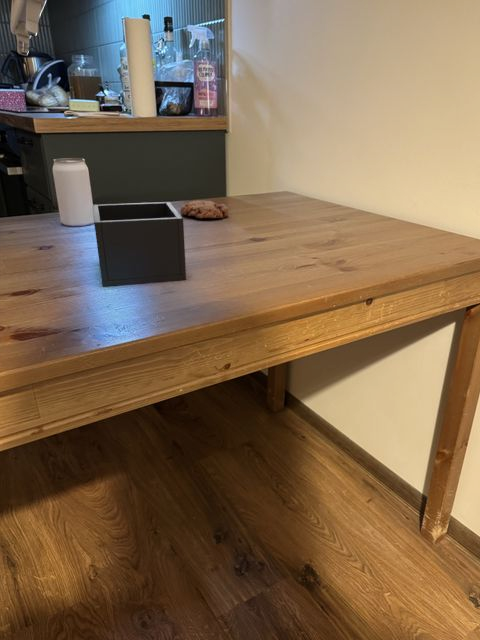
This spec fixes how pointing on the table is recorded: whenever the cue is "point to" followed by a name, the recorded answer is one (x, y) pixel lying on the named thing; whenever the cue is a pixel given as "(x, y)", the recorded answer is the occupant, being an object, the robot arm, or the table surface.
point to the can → (73, 192)
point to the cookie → (204, 209)
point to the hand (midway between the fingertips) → (26, 44)
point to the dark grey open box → (139, 243)
